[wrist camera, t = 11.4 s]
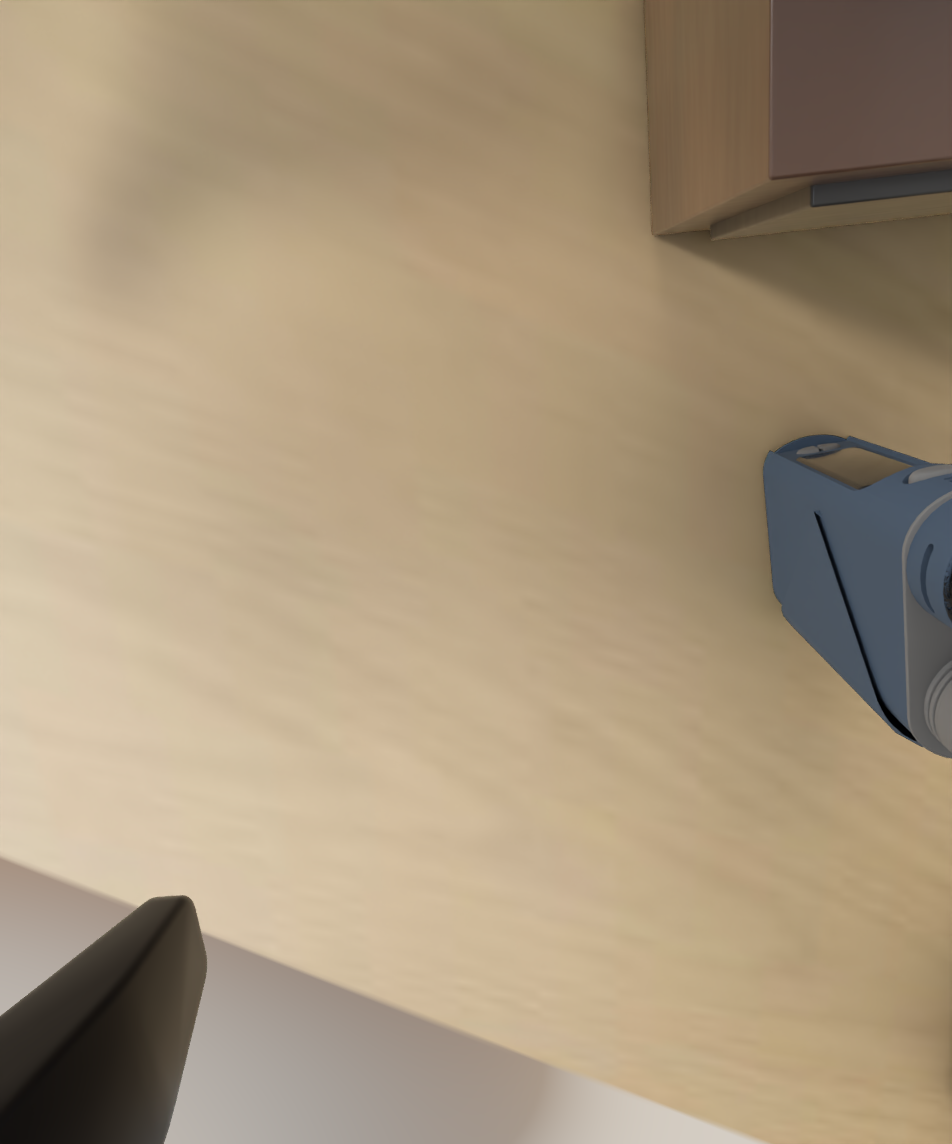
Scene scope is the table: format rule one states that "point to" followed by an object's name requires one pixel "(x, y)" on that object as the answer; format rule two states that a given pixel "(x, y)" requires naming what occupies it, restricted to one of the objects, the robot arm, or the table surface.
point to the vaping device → (869, 573)
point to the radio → (797, 113)
